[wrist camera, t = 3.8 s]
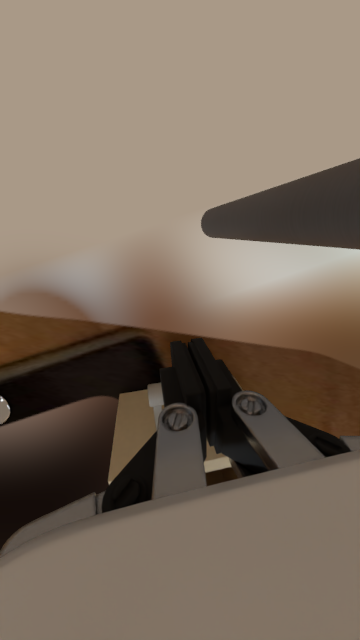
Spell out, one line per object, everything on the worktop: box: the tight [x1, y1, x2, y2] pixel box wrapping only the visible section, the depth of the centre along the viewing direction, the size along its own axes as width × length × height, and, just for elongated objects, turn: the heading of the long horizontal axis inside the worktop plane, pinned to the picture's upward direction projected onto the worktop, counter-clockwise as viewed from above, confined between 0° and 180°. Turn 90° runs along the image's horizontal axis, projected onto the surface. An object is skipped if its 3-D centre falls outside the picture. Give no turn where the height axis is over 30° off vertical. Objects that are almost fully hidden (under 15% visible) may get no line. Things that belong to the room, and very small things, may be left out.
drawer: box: [108, 376, 243, 486], centre depth 19 cm, size 18×11×8 cm, turn 3°
